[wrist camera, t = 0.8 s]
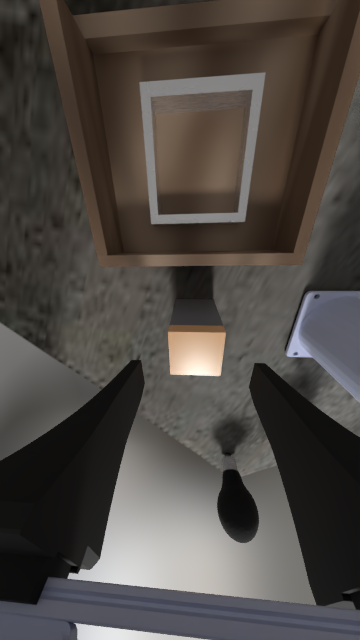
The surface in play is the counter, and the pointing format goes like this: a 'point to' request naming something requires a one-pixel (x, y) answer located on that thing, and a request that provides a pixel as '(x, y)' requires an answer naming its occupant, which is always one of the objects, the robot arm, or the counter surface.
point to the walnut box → (205, 123)
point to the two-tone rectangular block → (196, 338)
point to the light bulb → (236, 504)
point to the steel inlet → (202, 98)
